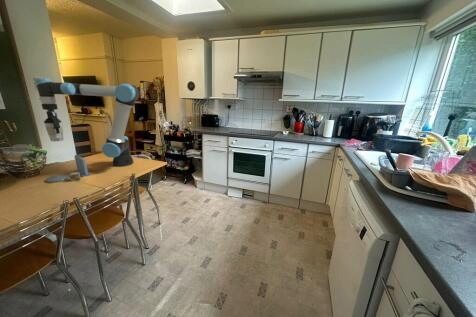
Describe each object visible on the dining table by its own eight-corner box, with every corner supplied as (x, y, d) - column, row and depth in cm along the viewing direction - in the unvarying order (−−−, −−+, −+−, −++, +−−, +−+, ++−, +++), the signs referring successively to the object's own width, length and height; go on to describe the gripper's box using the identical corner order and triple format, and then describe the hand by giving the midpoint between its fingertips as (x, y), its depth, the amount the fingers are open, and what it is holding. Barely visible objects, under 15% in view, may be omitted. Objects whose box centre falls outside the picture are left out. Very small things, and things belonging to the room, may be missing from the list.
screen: (74, 171, 146) (71, 155, 142) (82, 169, 149) (79, 154, 146) (83, 176, 137) (79, 160, 133) (91, 174, 141) (88, 158, 137)
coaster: (73, 175, 139) (73, 174, 138) (61, 182, 127) (61, 181, 127) (53, 175, 137) (53, 174, 136) (40, 183, 125) (40, 182, 125)
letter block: (80, 178, 135) (79, 171, 134) (79, 180, 131) (78, 174, 130) (72, 179, 133) (70, 172, 132) (71, 181, 129) (69, 175, 128)
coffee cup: (69, 139, 143) (64, 118, 138) (56, 142, 134) (51, 119, 130) (57, 138, 144) (52, 117, 139) (44, 141, 135) (38, 119, 131)
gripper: (37, 102, 135) (46, 135, 142) (45, 104, 123) (54, 140, 130) (52, 102, 141) (59, 134, 147) (60, 104, 129) (68, 138, 135)
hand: (57, 136), depth 138 cm, fingers closed on coffee cup, 9 cm apart
